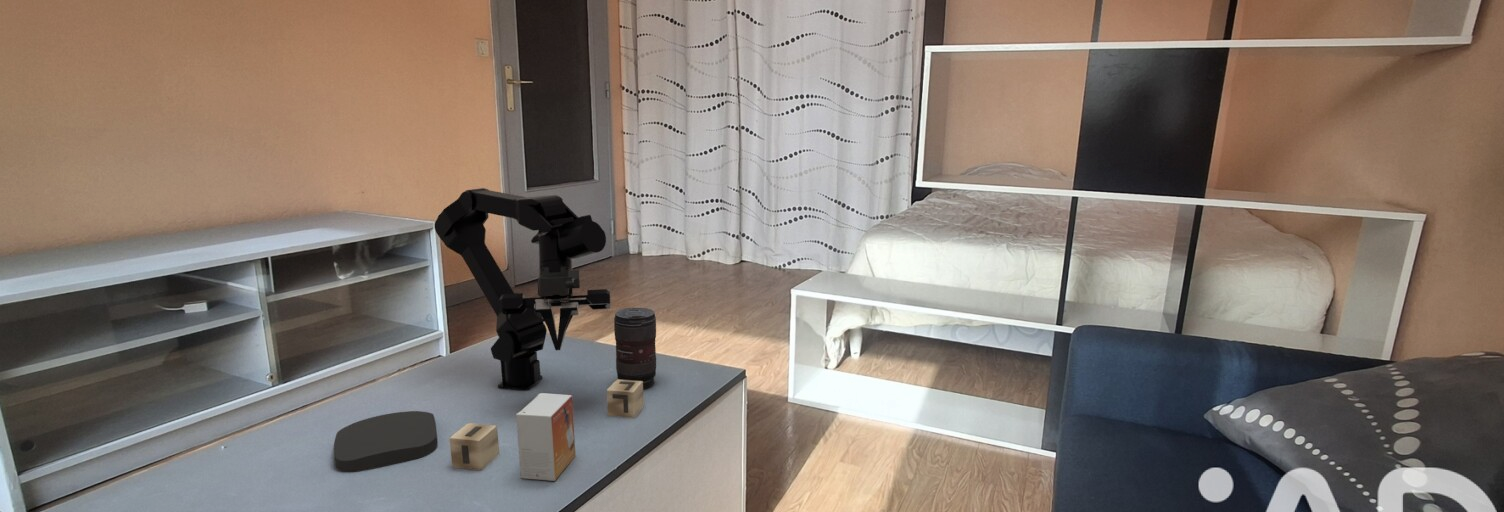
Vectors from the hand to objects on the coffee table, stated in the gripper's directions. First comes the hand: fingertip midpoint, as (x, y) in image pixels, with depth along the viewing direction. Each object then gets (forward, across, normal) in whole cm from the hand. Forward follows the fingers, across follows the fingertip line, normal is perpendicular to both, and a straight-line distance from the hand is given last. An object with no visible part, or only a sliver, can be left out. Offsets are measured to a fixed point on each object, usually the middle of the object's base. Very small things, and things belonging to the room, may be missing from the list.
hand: (557, 350), depth 120 cm
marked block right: (+11, +11, +5) cm, 17 cm away
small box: (+19, -1, -10) cm, 22 cm away
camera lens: (+6, +14, +16) cm, 22 cm away
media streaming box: (+14, -27, +2) cm, 31 cm away
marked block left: (+17, -12, -6) cm, 22 cm away
